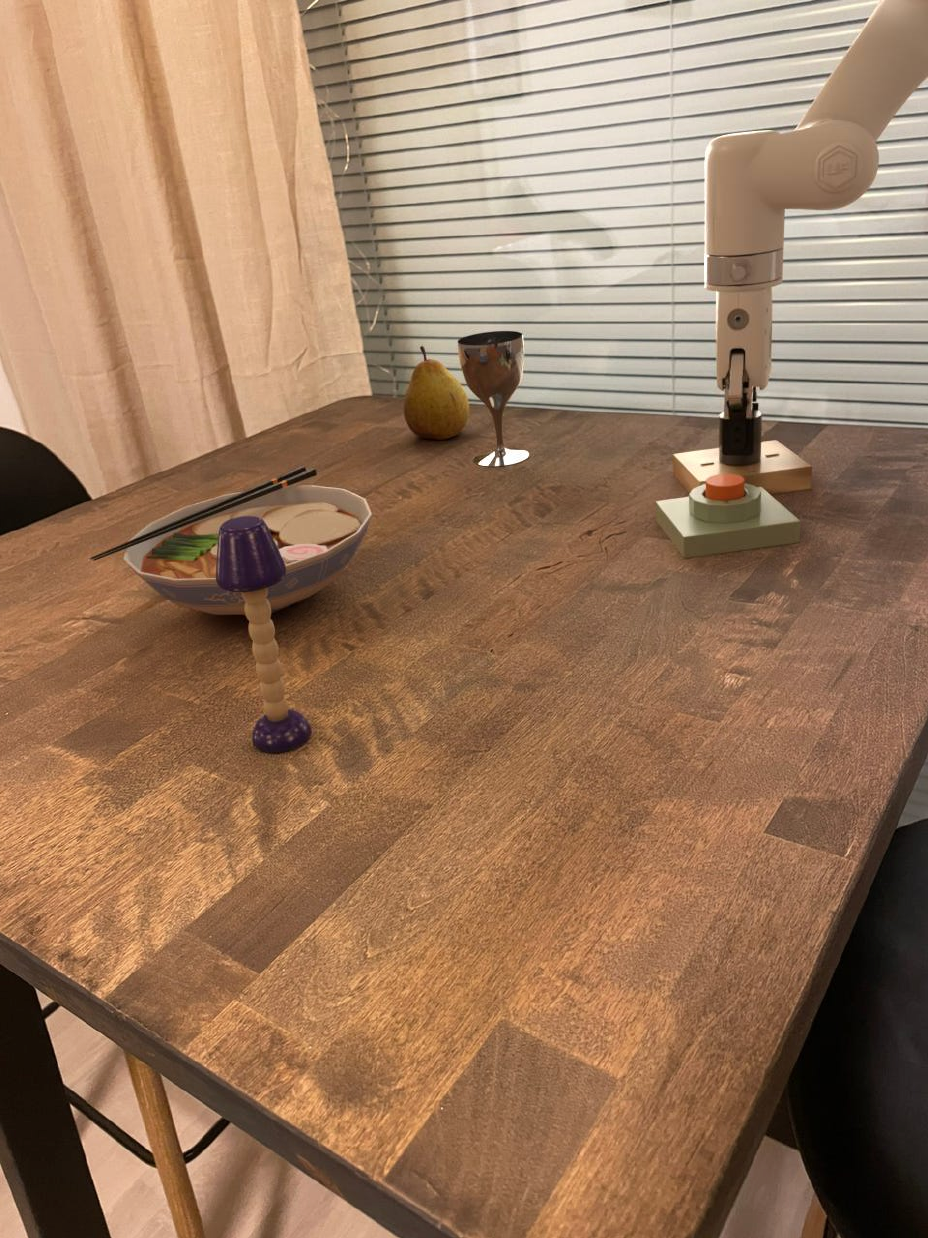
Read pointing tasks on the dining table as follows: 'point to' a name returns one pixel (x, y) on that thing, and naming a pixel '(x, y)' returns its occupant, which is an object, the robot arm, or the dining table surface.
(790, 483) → the dimmer panel
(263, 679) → the toy lamp
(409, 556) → the dining table surface
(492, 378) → the wine glass
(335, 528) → the ramen bowl
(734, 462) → the dimmer knob
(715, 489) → the power button
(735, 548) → the switch box
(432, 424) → the fruit
